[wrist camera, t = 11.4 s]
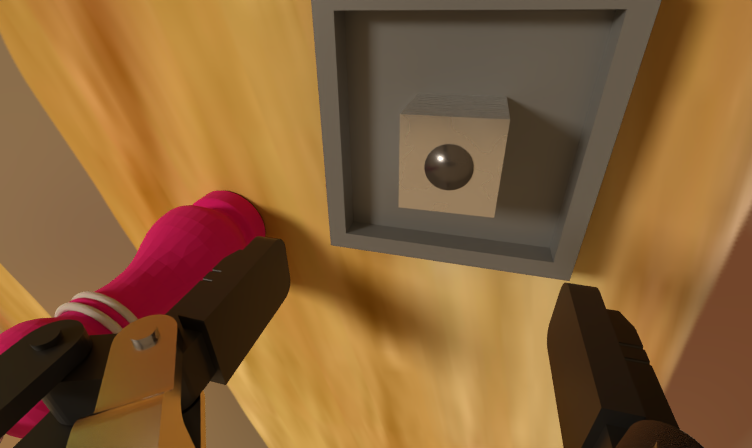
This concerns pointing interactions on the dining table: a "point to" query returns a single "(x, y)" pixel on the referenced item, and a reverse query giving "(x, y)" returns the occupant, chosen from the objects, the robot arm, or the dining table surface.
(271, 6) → the dining table surface
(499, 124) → the grey dotted cube
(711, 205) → the dining table surface
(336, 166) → the tray
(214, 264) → the pepper mill
